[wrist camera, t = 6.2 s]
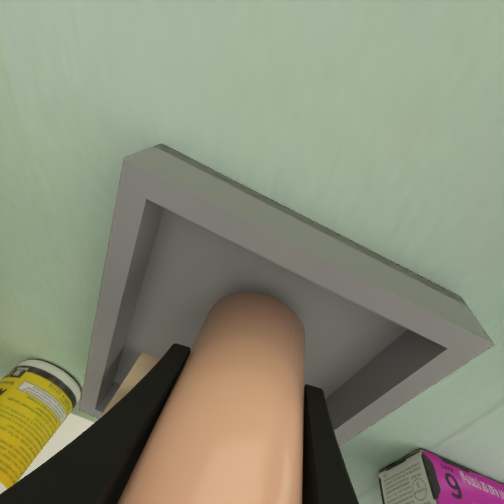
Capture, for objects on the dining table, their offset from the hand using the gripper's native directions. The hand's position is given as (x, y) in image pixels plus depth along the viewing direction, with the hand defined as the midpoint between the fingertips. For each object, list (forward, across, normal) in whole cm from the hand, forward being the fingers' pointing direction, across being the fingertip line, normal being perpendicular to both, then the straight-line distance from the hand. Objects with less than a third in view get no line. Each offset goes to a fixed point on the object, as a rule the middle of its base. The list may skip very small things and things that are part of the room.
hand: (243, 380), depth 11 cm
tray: (+4, +1, +3) cm, 5 cm away
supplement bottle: (+4, +14, +14) cm, 20 cm away
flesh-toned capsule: (+2, 0, 0) cm, 2 cm away
